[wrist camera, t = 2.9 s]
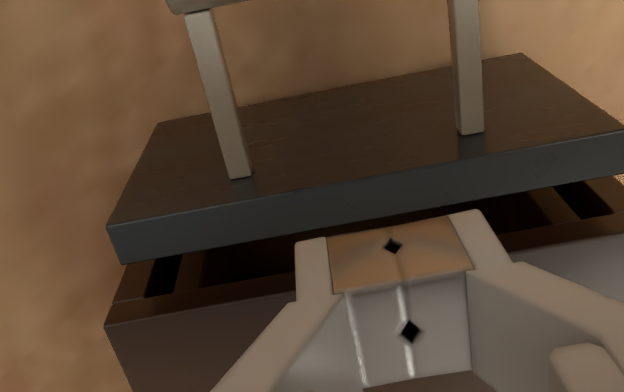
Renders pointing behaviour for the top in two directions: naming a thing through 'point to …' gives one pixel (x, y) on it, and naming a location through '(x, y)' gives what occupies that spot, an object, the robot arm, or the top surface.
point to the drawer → (356, 158)
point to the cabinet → (282, 289)
